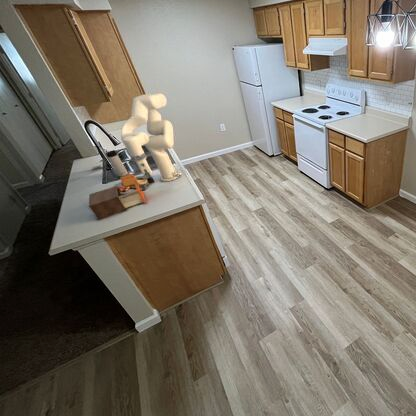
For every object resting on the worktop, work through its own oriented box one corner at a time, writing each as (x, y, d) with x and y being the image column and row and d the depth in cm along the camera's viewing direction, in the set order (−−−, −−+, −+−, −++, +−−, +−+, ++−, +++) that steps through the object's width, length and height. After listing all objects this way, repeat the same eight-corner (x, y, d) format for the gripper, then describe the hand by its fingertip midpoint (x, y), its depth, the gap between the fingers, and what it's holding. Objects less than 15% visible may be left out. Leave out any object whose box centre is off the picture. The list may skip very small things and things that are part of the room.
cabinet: (124, 199, 174) (116, 186, 168) (126, 210, 163) (117, 196, 157) (98, 207, 168) (89, 194, 162) (98, 219, 157) (88, 206, 151)
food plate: (105, 195, 180) (102, 191, 178) (129, 178, 198) (127, 174, 196) (137, 196, 176) (134, 191, 174) (159, 178, 195) (157, 174, 193)
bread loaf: (136, 179, 189) (132, 172, 185) (137, 182, 186) (133, 175, 182) (124, 183, 185) (119, 176, 182) (124, 186, 182) (120, 178, 178)
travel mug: (125, 177, 201) (111, 152, 189) (117, 177, 201) (102, 153, 189) (130, 173, 206) (117, 149, 194) (122, 173, 206) (108, 149, 194)
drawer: (147, 190, 180) (141, 178, 175) (151, 201, 169) (144, 188, 164) (119, 200, 173) (111, 187, 167) (121, 211, 162) (112, 198, 156)
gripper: (147, 158, 158) (160, 185, 169) (144, 151, 168) (156, 177, 179) (132, 162, 155) (147, 189, 165) (130, 155, 165) (144, 180, 175)
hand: (151, 182), depth 172 cm, fingers closed
